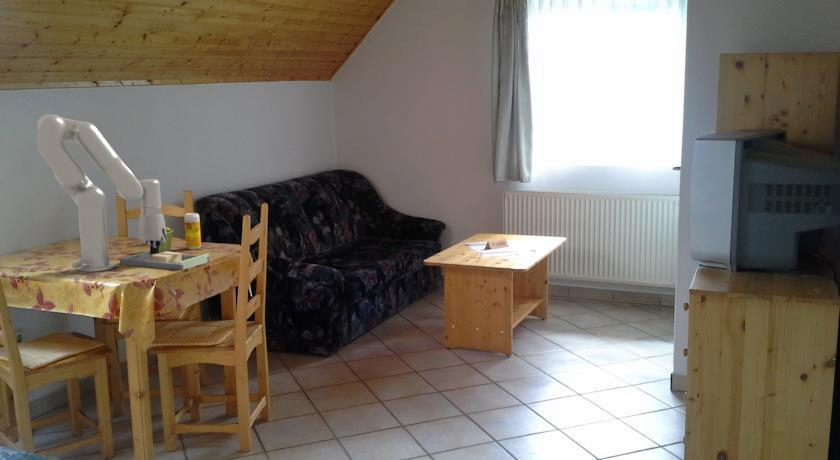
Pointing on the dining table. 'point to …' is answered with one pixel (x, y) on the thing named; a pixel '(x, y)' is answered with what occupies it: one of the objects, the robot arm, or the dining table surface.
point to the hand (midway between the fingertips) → (155, 257)
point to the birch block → (167, 257)
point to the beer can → (192, 231)
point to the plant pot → (167, 244)
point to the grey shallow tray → (141, 261)
